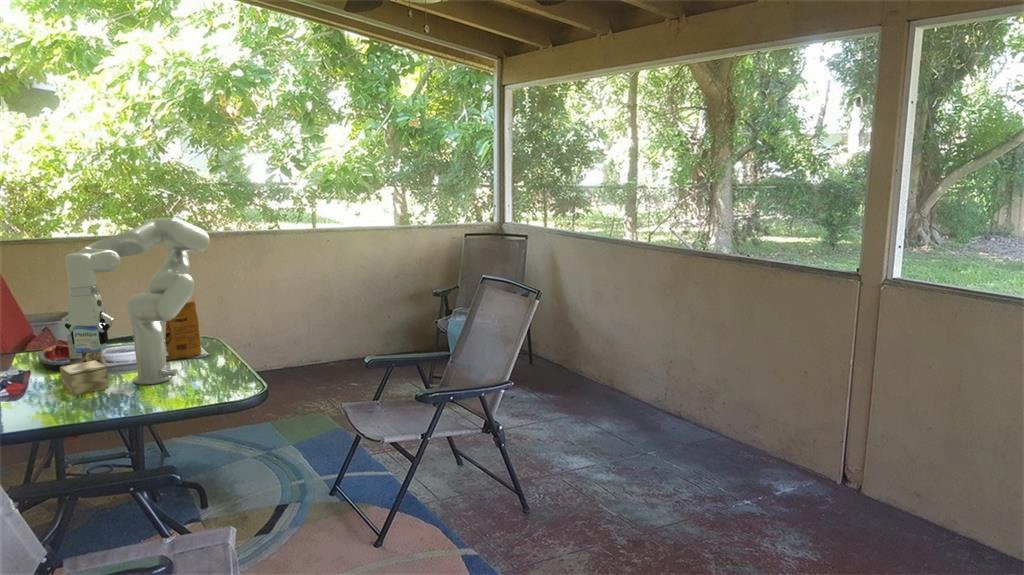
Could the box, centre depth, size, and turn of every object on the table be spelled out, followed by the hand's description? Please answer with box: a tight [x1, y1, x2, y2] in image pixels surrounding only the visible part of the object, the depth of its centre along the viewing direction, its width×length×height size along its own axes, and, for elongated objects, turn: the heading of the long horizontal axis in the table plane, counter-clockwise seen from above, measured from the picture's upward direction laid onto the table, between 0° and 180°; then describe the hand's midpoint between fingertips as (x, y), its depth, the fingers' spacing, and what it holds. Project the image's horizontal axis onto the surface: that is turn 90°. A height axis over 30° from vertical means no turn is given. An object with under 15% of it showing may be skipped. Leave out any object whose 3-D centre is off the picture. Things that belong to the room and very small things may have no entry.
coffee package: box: [164, 299, 202, 360], centre depth 283 cm, size 10×12×22 cm
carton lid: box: [60, 361, 107, 375], centre depth 243 cm, size 11×12×1 cm
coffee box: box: [66, 333, 105, 365], centre depth 259 cm, size 9×6×16 cm
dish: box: [37, 344, 70, 371], centre depth 275 cm, size 16×31×5 cm, turn 35°
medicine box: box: [73, 326, 108, 353], centre depth 228 cm, size 8×4×9 cm, turn 98°
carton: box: [59, 368, 110, 397], centre depth 244 cm, size 11×12×7 cm
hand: (90, 343), depth 229 cm, fingers closed on medicine box, 8 cm apart
